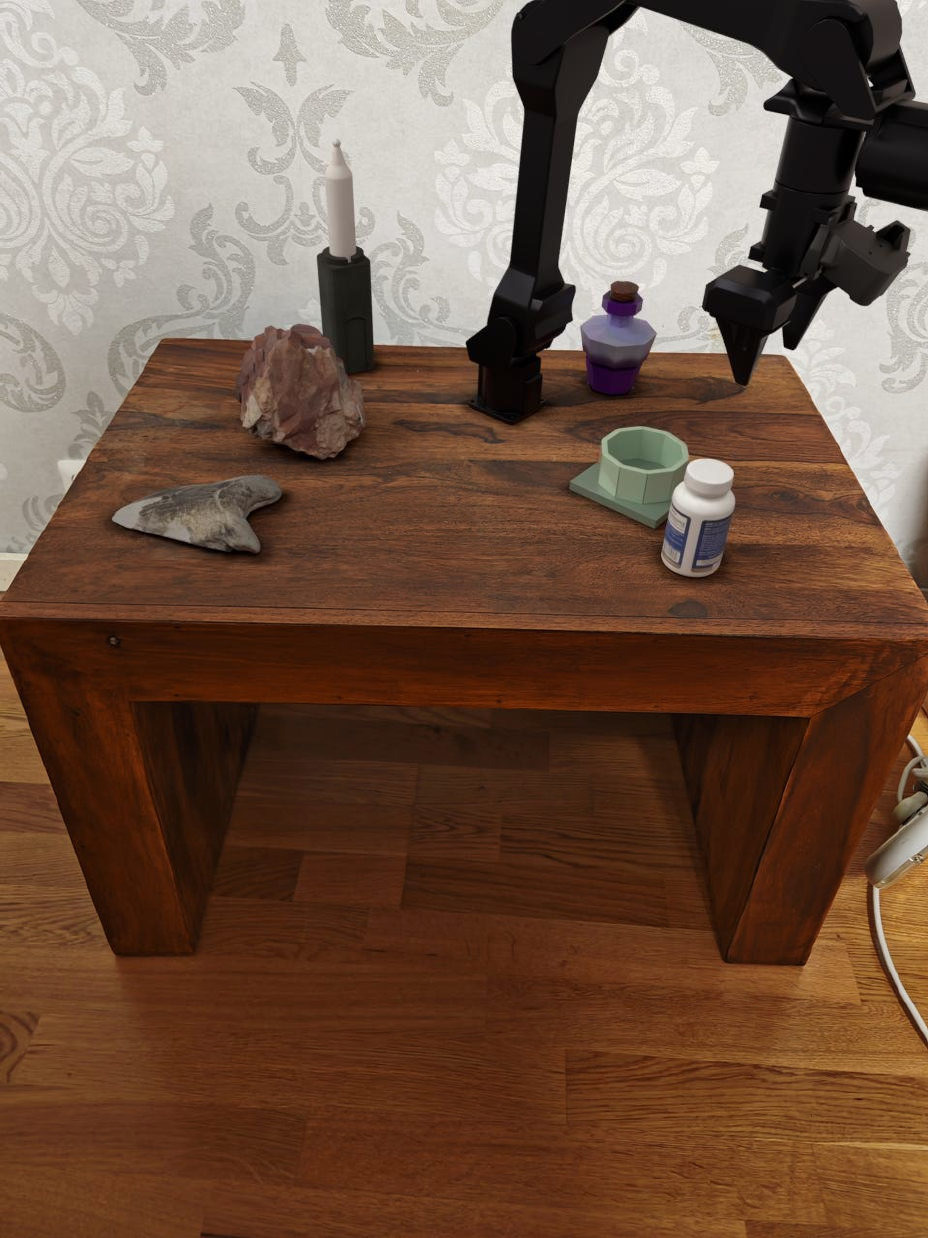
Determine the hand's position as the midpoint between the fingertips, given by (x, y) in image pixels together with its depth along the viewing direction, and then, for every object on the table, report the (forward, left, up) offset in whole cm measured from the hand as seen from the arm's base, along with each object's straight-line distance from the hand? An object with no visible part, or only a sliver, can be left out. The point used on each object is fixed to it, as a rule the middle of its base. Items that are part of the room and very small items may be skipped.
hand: (766, 366), depth 86 cm
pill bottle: (+2, -11, -15) cm, 19 cm away
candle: (-48, -5, -15) cm, 51 cm away
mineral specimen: (-41, -19, -15) cm, 48 cm away
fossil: (-37, -37, -15) cm, 54 cm away
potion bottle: (-22, +12, -15) cm, 29 cm away
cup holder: (-8, -4, -15) cm, 17 cm away
